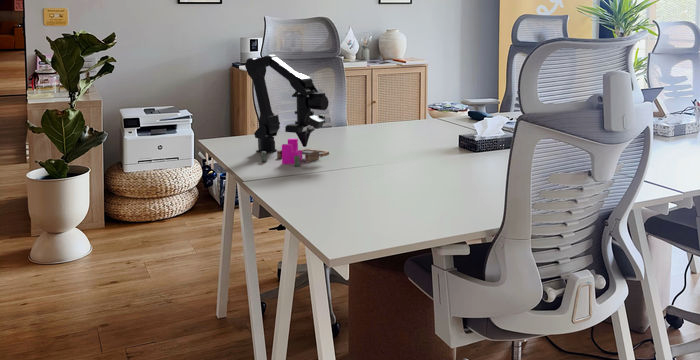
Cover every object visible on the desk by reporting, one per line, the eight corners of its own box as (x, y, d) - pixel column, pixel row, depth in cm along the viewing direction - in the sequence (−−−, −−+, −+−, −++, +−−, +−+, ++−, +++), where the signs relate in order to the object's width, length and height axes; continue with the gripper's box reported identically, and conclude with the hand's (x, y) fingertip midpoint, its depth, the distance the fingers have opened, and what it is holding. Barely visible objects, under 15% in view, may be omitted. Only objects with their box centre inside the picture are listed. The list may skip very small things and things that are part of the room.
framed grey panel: (260, 162, 288) (260, 152, 287) (300, 150, 311) (299, 141, 310) (297, 167, 279) (297, 156, 278) (335, 154, 301) (335, 145, 300)
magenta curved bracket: (298, 164, 285) (297, 145, 283) (282, 164, 285) (281, 145, 283) (304, 156, 299) (303, 138, 297) (289, 156, 300) (288, 138, 298)
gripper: (307, 113, 282) (308, 152, 286) (333, 107, 297) (333, 144, 301) (283, 111, 287) (285, 150, 291) (310, 105, 303) (311, 142, 307)
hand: (304, 146), depth 297 cm, fingers closed
